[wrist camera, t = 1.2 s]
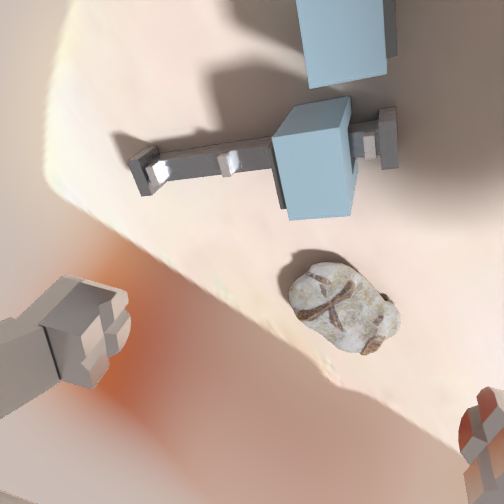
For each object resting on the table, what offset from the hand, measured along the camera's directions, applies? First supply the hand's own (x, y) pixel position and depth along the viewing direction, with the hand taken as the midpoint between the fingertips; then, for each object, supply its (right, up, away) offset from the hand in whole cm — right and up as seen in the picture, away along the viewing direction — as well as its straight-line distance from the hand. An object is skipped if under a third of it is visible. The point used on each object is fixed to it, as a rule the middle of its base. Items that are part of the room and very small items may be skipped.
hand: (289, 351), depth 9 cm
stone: (+9, -3, +34) cm, 36 cm away
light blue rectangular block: (+5, +12, +25) cm, 28 cm away
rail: (0, +12, +27) cm, 29 cm away
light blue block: (+6, +19, +19) cm, 28 cm away
